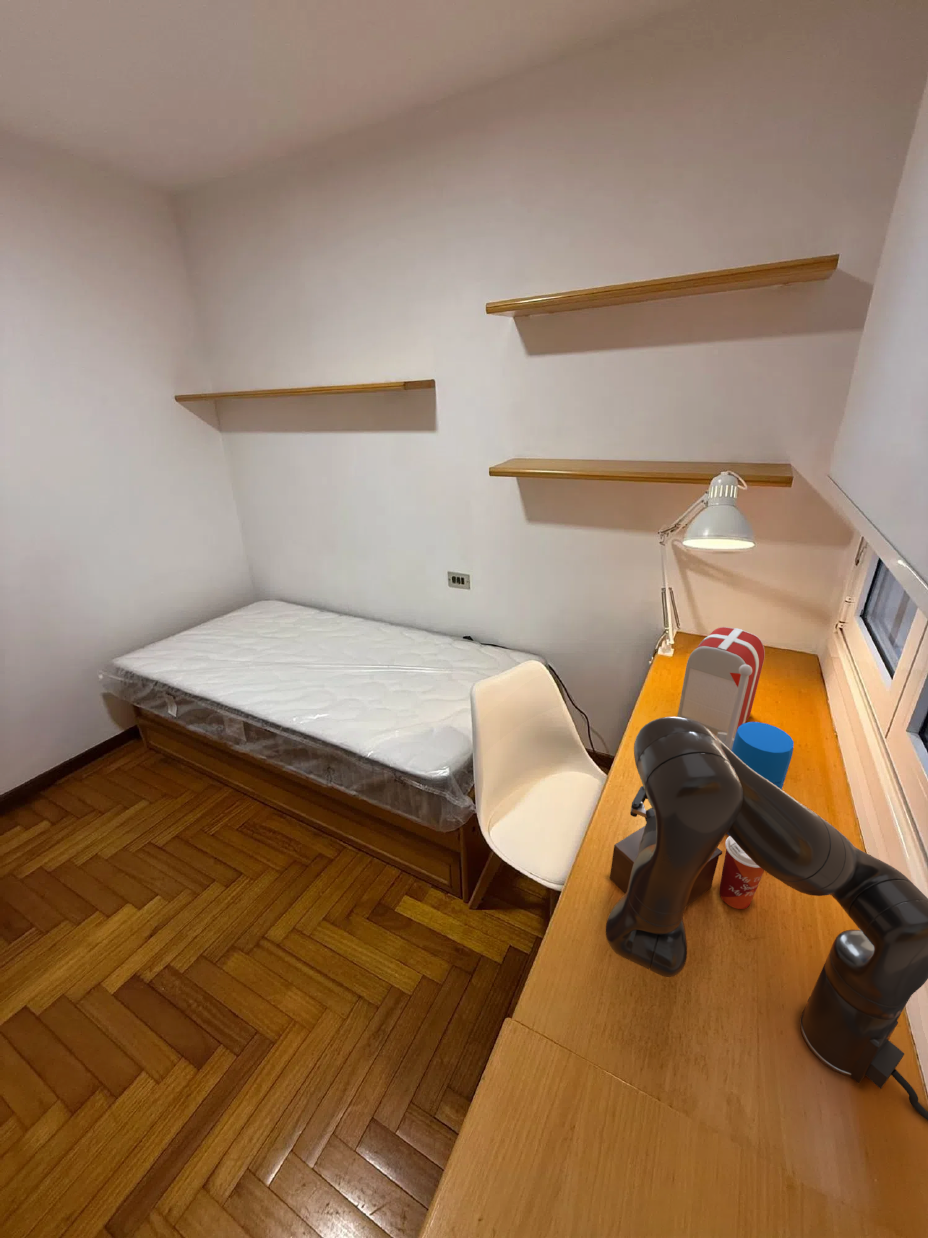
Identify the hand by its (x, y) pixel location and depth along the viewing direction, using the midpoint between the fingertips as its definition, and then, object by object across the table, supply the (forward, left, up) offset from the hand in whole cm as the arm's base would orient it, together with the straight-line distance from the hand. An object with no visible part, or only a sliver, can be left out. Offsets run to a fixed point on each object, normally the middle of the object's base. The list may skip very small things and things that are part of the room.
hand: (678, 786), depth 98 cm
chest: (-1, +2, -24) cm, 24 cm away
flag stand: (+14, -42, -24) cm, 50 cm away
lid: (-1, +2, -15) cm, 15 cm away
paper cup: (-11, -8, -24) cm, 27 cm away
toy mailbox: (+28, -58, -24) cm, 69 cm away
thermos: (-1, -26, -24) cm, 35 cm away
